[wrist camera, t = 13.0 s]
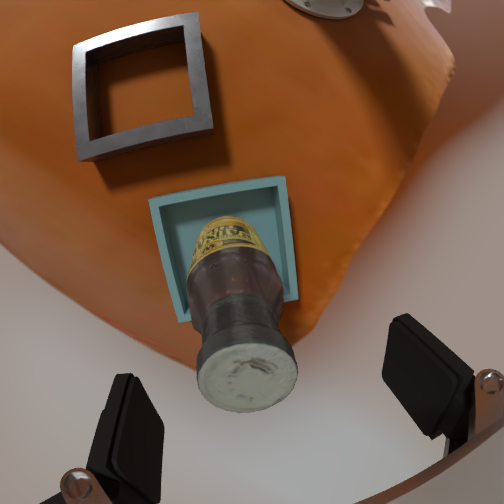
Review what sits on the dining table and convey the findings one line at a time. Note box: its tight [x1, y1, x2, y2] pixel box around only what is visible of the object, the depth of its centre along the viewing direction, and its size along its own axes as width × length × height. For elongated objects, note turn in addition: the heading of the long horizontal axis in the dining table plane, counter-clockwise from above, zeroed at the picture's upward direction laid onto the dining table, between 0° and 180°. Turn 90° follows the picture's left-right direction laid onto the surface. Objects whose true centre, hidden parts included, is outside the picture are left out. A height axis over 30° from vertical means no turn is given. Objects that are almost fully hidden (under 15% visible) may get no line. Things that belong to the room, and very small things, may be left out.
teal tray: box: [149, 175, 298, 323], centre depth 28 cm, size 13×13×4 cm
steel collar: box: [72, 12, 214, 162], centre depth 22 cm, size 13×13×4 cm
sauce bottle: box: [186, 216, 298, 413], centre depth 19 cm, size 6×6×20 cm
